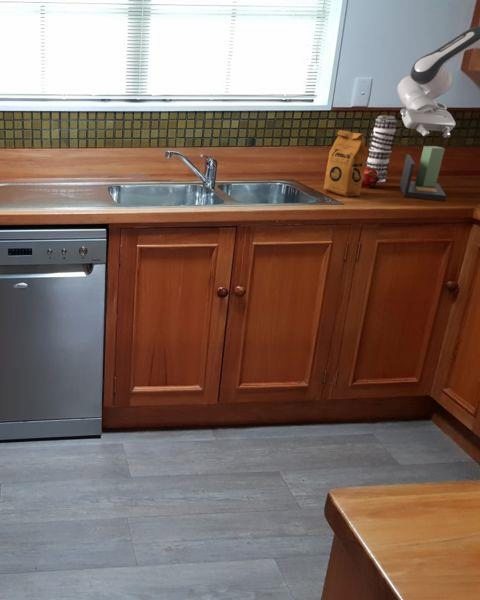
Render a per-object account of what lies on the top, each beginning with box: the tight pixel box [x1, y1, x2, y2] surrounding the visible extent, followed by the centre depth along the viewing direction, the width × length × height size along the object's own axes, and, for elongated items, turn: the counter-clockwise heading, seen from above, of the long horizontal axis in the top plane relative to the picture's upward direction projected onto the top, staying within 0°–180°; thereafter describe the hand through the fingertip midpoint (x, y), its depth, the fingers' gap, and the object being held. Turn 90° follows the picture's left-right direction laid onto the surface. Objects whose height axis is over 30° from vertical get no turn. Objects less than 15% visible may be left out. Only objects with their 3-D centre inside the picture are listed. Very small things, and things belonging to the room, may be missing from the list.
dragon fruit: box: [361, 165, 380, 189], centre depth 234 cm, size 8×8×12 cm
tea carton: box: [414, 145, 445, 186], centre depth 227 cm, size 5×5×14 cm
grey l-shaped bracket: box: [399, 154, 447, 202], centre depth 223 cm, size 13×22×12 cm, turn 158°
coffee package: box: [322, 129, 367, 198], centre depth 218 cm, size 10×12×22 cm
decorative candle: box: [365, 114, 398, 183], centre depth 242 cm, size 9×9×25 cm
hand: (437, 135), depth 226 cm, fingers open, 8 cm apart
